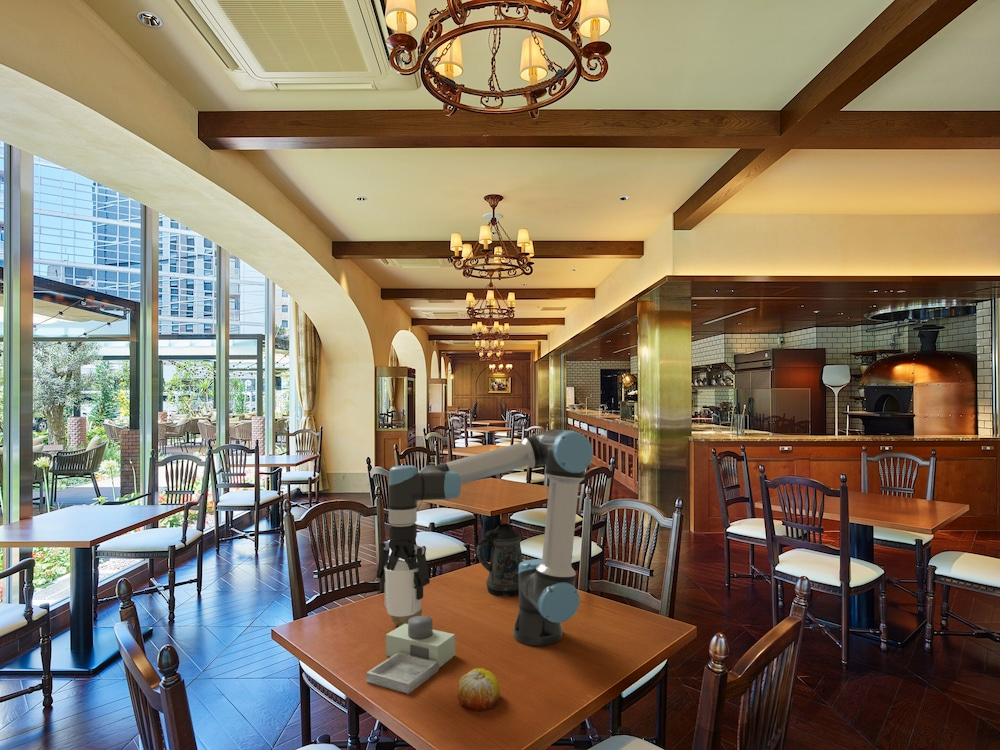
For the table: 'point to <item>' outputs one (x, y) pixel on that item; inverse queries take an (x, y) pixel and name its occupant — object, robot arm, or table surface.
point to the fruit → (478, 689)
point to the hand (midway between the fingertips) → (402, 608)
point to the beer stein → (502, 560)
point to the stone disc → (404, 618)
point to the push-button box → (421, 640)
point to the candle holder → (399, 589)
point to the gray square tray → (402, 672)
